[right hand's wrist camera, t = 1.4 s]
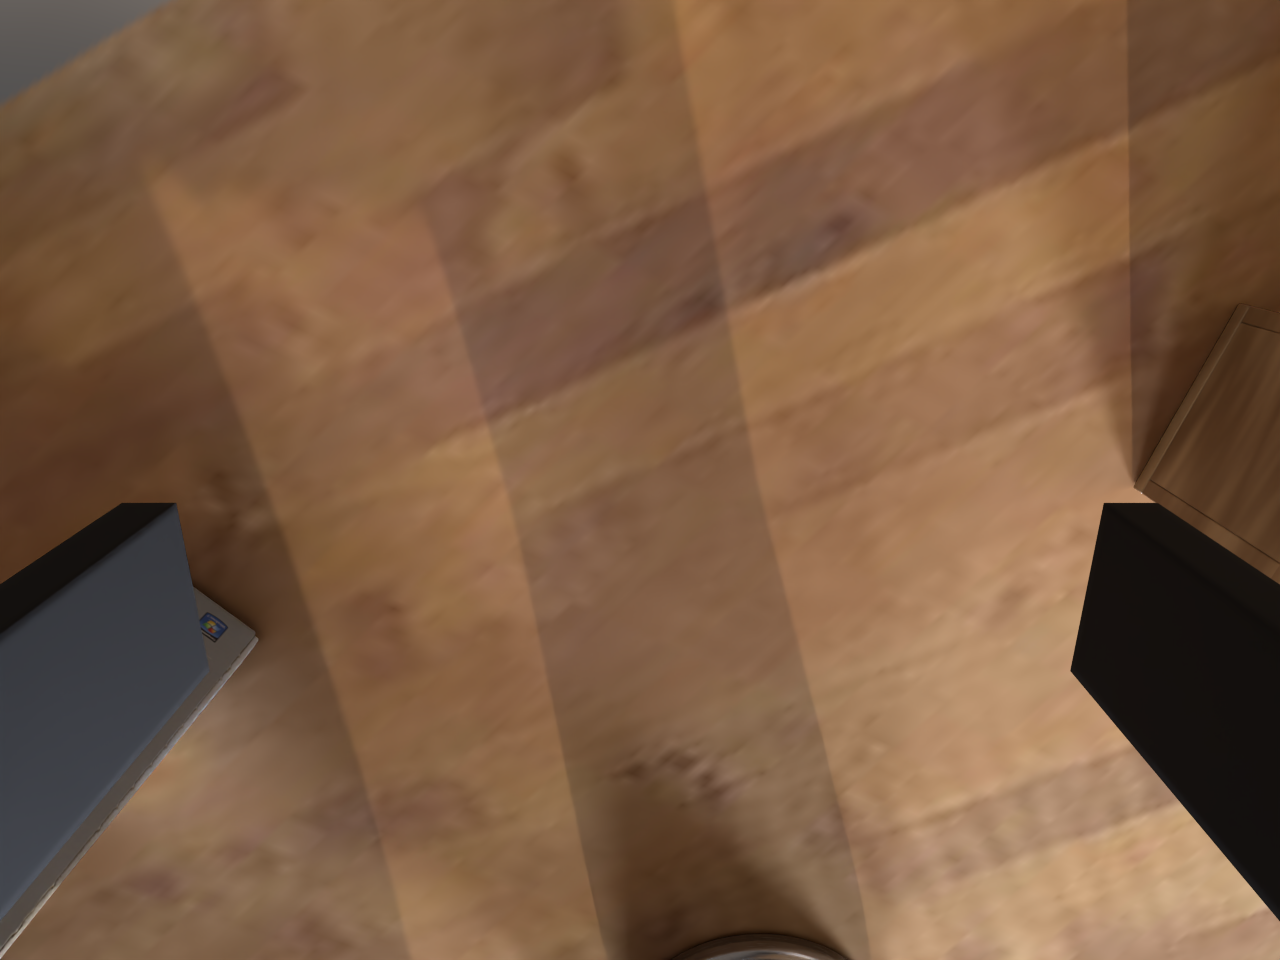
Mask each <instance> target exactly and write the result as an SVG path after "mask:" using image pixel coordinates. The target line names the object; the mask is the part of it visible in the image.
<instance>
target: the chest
mask: <svg viewBox="0 0 1280 960" xmlns="http://www.w3.org/2000/svg"><path fill="white" fill-rule="evenodd" d="M1134 488H1135V489H1136V490H1137V491H1139V492H1140V493H1142V494H1143V495H1145V496H1146V497H1148V498H1149V499H1151V500H1152V501H1153V502H1155V503H1159V504H1160V505H1162V506H1163V507H1165V508H1166V509H1168V510H1169V511H1171V512H1172V513H1174V514H1175V515H1177V516H1178V517H1180V518H1181V519H1183V520H1184V521H1186V522H1187V523H1189V524H1190V525H1192V526H1193V527H1195V528H1196V529H1198V530H1199V531H1201V532H1202V533H1204V534H1205V535H1207V536H1208V537H1210V538H1211V539H1213V540H1214V541H1216V542H1217V543H1219V544H1220V545H1222V546H1223V547H1225V548H1226V549H1228V550H1229V551H1231V552H1232V553H1234V554H1235V555H1237V556H1238V557H1239V558H1241V559H1242V560H1244V561H1245V562H1247V563H1248V564H1250V565H1251V566H1253V567H1254V568H1256V569H1257V570H1259V571H1260V572H1262V573H1263V574H1265V575H1266V576H1268V577H1269V578H1271V577H1272V576H1273V574H1274V573H1275V571H1276V570H1277V568H1278V567H1279V565H1280V313H1277V312H1273V311H1269V310H1265V309H1261V308H1257V307H1253V306H1249V305H1245V304H1239V305H1238V306H1237V308H1236V310H1235V312H1234V313H1233V315H1232V317H1231V319H1230V320H1229V322H1228V324H1227V325H1226V327H1225V329H1224V331H1223V332H1222V334H1221V336H1220V338H1219V339H1218V341H1217V343H1216V345H1215V346H1214V348H1213V350H1212V352H1211V353H1210V355H1209V357H1208V358H1207V360H1206V362H1205V364H1204V365H1203V367H1202V369H1201V371H1200V372H1199V374H1198V376H1197V378H1196V379H1195V381H1194V383H1193V385H1192V386H1191V388H1190V390H1189V391H1188V393H1187V395H1186V397H1185V398H1184V400H1183V402H1182V404H1181V405H1180V407H1179V409H1178V411H1177V412H1176V414H1175V416H1174V418H1173V419H1172V421H1171V423H1170V424H1169V426H1168V428H1167V430H1166V431H1165V433H1164V435H1163V437H1162V438H1161V440H1160V442H1159V444H1158V445H1157V447H1156V449H1155V451H1154V452H1153V454H1152V456H1151V457H1150V459H1149V461H1148V463H1147V464H1146V466H1145V468H1144V470H1143V471H1142V473H1141V475H1140V477H1139V478H1138V480H1137V482H1136V484H1135V485H1134Z"/></svg>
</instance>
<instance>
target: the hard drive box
mask: <svg viewBox="0 0 1280 960" xmlns="http://www.w3.org/2000/svg"><path fill="white" fill-rule="evenodd" d="M193 590H194V595H195V600H196V605H197V610H198V615H199V620H200V625H201V630H202V635H203V640H204V645H205V650H206V655H207V660H208V665H209V670H210V671H209V672H208V673H207V675H206V676H205V677H204V678H203V679H202V681H201V682H200V683H199V684H198V685H197V687H196V688H195V689H194V690H193V691H192V693H191V694H190V695H189V696H188V697H187V698H186V700H185V701H184V702H183V703H182V704H181V706H180V707H179V708H178V709H177V710H176V712H175V713H174V714H173V715H172V716H171V718H170V719H169V720H168V721H167V722H166V724H165V725H164V726H163V727H162V728H161V730H160V731H159V732H158V733H157V734H156V736H155V737H154V738H153V739H152V740H151V741H150V743H149V744H148V745H147V746H146V747H145V749H144V750H143V751H142V752H141V753H140V755H139V756H138V757H137V758H136V759H135V761H134V762H133V763H132V764H131V765H130V767H129V768H128V769H127V770H126V771H125V773H124V774H123V775H122V776H121V777H120V779H119V780H118V781H117V782H116V783H115V785H114V786H113V787H112V788H111V789H110V790H109V792H108V793H107V794H106V795H105V796H104V798H103V799H102V800H101V801H100V802H99V804H98V805H97V806H96V807H95V808H94V810H93V811H92V812H91V813H90V814H89V816H88V817H87V818H86V819H85V820H84V822H83V823H82V824H81V825H80V826H79V828H78V829H77V830H76V831H75V832H74V834H73V835H72V836H71V837H70V838H69V839H68V841H67V842H66V843H65V844H64V845H63V847H62V848H61V849H60V850H59V851H58V853H57V854H56V855H55V856H54V857H53V859H52V860H51V861H50V862H49V863H48V865H47V866H46V867H45V868H44V869H43V871H42V872H41V873H40V874H39V875H38V877H37V878H36V879H35V880H34V881H33V883H32V884H31V885H30V886H29V887H28V888H27V890H26V891H25V892H24V893H23V894H22V896H21V897H20V898H19V899H18V900H17V902H16V903H15V904H14V905H13V906H12V908H11V909H10V910H9V911H8V912H7V914H6V915H5V916H4V917H3V918H2V920H1V921H0V959H1V957H2V956H3V955H4V954H5V952H6V951H7V950H8V949H9V947H10V946H11V945H12V944H13V943H14V941H15V940H16V939H17V938H18V936H19V935H20V934H21V933H22V931H23V930H24V929H25V928H26V926H27V925H28V924H29V923H30V921H31V920H32V919H33V918H34V916H35V915H36V914H37V913H38V911H39V910H40V909H41V908H42V906H43V905H44V904H45V903H46V901H47V900H48V899H49V898H50V896H51V895H52V894H53V893H54V891H55V890H56V889H57V888H58V887H59V885H60V884H61V883H62V882H63V880H64V879H65V878H66V877H67V876H68V874H69V873H70V872H71V871H72V869H73V868H74V867H75V866H76V865H77V863H78V862H79V861H80V860H81V858H82V857H83V856H84V855H85V854H86V852H87V851H88V850H89V849H90V847H91V846H92V845H93V844H94V843H95V841H96V840H97V839H98V838H99V836H100V835H101V834H102V833H103V832H104V830H105V829H106V828H107V827H108V825H109V824H110V823H111V822H112V821H113V819H114V818H115V817H116V816H117V814H118V813H119V812H120V811H121V810H122V808H123V807H124V806H125V805H126V803H127V802H128V801H129V800H130V799H131V797H132V796H133V795H134V794H135V792H136V791H137V790H138V789H139V788H140V786H141V785H142V784H143V783H144V781H145V780H146V779H147V778H148V777H149V775H150V774H151V773H152V772H153V771H154V769H155V768H156V767H157V766H158V764H159V763H160V762H161V761H162V760H163V758H164V757H165V756H166V755H167V753H168V752H169V751H170V750H171V749H172V747H173V746H174V745H175V744H176V742H177V741H178V740H179V739H180V738H181V736H182V735H183V734H184V733H185V732H186V730H187V729H188V728H189V727H190V725H191V724H192V723H193V722H194V721H195V719H196V718H197V717H198V716H199V714H200V713H201V712H202V711H203V710H204V708H205V707H206V706H207V705H208V704H209V702H210V701H211V700H212V699H213V697H214V696H215V695H216V694H217V693H218V691H219V690H220V689H221V688H222V686H223V685H224V684H225V683H226V681H227V680H228V679H229V678H230V677H231V675H232V674H233V673H234V672H235V670H236V669H237V668H238V667H239V665H240V664H241V663H242V662H243V660H244V659H245V658H246V657H247V655H248V654H249V653H250V651H251V650H252V649H253V648H254V646H255V645H256V643H257V642H258V640H259V639H258V638H257V637H256V636H255V634H256V633H255V631H254V630H252V629H251V628H249V627H248V626H247V625H245V624H244V623H243V622H241V621H240V620H239V619H237V618H236V617H234V616H233V615H231V614H230V613H229V612H227V611H226V610H224V609H223V608H222V607H221V606H219V605H218V604H216V603H215V602H214V601H212V600H211V599H210V598H208V597H207V596H205V595H204V594H203V593H201V592H200V591H199V590H197V589H196V588H194V587H193Z"/></svg>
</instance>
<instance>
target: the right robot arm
mask: <svg viewBox="0 0 1280 960" xmlns="http://www.w3.org/2000/svg"><path fill="white" fill-rule="evenodd" d="M209 671H210V670H209V665H208V660H207V655H206V650H205V645H204V640H203V635H202V630H201V625H200V620H199V615H198V610H197V605H196V600H195V595H194V590H193V585H192V580H191V575H190V570H189V565H188V560H187V555H186V550H185V545H184V540H183V535H182V530H181V525H180V520H179V515H178V510H177V505H176V503H121V504H120V505H118V506H117V507H115V508H114V509H112V510H111V511H109V512H108V513H106V514H105V515H103V516H102V517H100V518H99V519H97V520H96V521H94V522H93V523H91V524H90V525H88V526H87V527H85V528H84V529H82V530H81V531H79V532H78V533H76V534H75V535H73V536H72V537H70V538H69V539H67V540H66V541H64V542H63V543H61V544H60V545H58V546H57V547H55V548H54V549H52V550H51V551H49V552H48V553H46V554H45V555H43V556H42V557H41V558H39V559H38V560H36V561H35V562H33V563H32V564H30V565H29V566H27V567H26V568H24V569H23V570H21V571H20V572H18V573H17V574H15V575H14V576H12V577H11V578H9V579H8V580H6V581H5V582H3V583H2V584H0V921H1V920H2V918H3V917H4V916H5V915H6V914H7V912H8V911H9V910H10V909H11V908H12V906H13V905H14V904H15V903H16V902H17V900H18V899H19V898H20V897H21V896H22V894H23V893H24V892H25V891H26V890H27V888H28V887H29V886H30V885H31V884H32V883H33V881H34V880H35V879H36V878H37V877H38V875H39V874H40V873H41V872H42V871H43V869H44V868H45V867H46V866H47V865H48V863H49V862H50V861H51V860H52V859H53V857H54V856H55V855H56V854H57V853H58V851H59V850H60V849H61V848H62V847H63V845H64V844H65V843H66V842H67V841H68V839H69V838H70V837H71V836H72V835H73V834H74V832H75V831H76V830H77V829H78V828H79V826H80V825H81V824H82V823H83V822H84V820H85V819H86V818H87V817H88V816H89V814H90V813H91V812H92V811H93V810H94V808H95V807H96V806H97V805H98V804H99V802H100V801H101V800H102V799H103V798H104V796H105V795H106V794H107V793H108V792H109V790H110V789H111V788H112V787H113V786H114V785H115V783H116V782H117V781H118V780H119V779H120V777H121V776H122V775H123V774H124V773H125V771H126V770H127V769H128V768H129V767H130V765H131V764H132V763H133V762H134V761H135V759H136V758H137V757H138V756H139V755H140V753H141V752H142V751H143V750H144V749H145V747H146V746H147V745H148V744H149V743H150V741H151V740H152V739H153V738H154V737H155V736H156V734H157V733H158V732H159V731H160V730H161V728H162V727H163V726H164V725H165V724H166V722H167V721H168V720H169V719H170V718H171V716H172V715H173V714H174V713H175V712H176V710H177V709H178V708H179V707H180V706H181V704H182V703H183V702H184V701H185V700H186V698H187V697H188V696H189V695H190V694H191V693H192V691H193V690H194V689H195V688H196V687H197V685H198V684H199V683H200V682H201V681H202V679H203V678H204V677H205V676H206V675H207V673H208V672H209ZM1070 671H1071V672H1072V673H1073V675H1074V676H1075V677H1076V678H1077V679H1078V681H1079V682H1080V683H1081V684H1082V685H1083V687H1084V688H1085V689H1086V690H1087V691H1088V693H1089V694H1090V695H1091V696H1092V697H1093V698H1094V700H1095V701H1096V702H1097V703H1098V704H1099V706H1100V707H1101V708H1102V709H1103V710H1104V712H1105V713H1106V714H1107V715H1108V716H1109V718H1110V719H1111V720H1112V721H1113V722H1114V724H1115V725H1116V726H1117V727H1118V728H1119V730H1120V731H1121V732H1122V733H1123V734H1124V736H1125V737H1126V738H1127V739H1128V740H1129V741H1130V743H1131V744H1132V745H1133V746H1134V747H1135V749H1136V750H1137V751H1138V752H1139V753H1140V755H1141V756H1142V757H1143V758H1144V759H1145V761H1146V762H1147V763H1148V764H1149V765H1150V767H1151V768H1152V769H1153V770H1154V771H1155V773H1156V774H1157V775H1158V776H1159V777H1160V779H1161V780H1162V781H1163V782H1164V783H1165V785H1166V786H1167V787H1168V788H1169V789H1170V790H1171V792H1172V793H1173V794H1174V795H1175V796H1176V798H1177V799H1178V800H1179V801H1180V802H1181V804H1182V805H1183V806H1184V807H1185V808H1186V810H1187V811H1188V812H1189V813H1190V814H1191V816H1192V817H1193V818H1194V819H1195V820H1196V822H1197V823H1198V824H1199V825H1200V826H1201V828H1202V829H1203V830H1204V831H1205V832H1206V834H1207V835H1208V836H1209V837H1210V838H1211V839H1212V841H1213V842H1214V843H1215V844H1216V845H1217V847H1218V848H1219V849H1220V850H1221V851H1222V853H1223V854H1224V855H1225V856H1226V857H1227V859H1228V860H1229V861H1230V862H1231V863H1232V865H1233V866H1234V867H1235V868H1236V869H1237V871H1238V872H1239V873H1240V874H1241V875H1242V877H1243V878H1244V879H1245V880H1246V881H1247V883H1248V884H1249V885H1250V886H1251V887H1252V888H1253V890H1254V891H1255V892H1256V893H1257V894H1258V896H1259V897H1260V898H1261V899H1262V900H1263V902H1264V903H1265V904H1266V905H1267V906H1268V908H1269V909H1270V910H1271V911H1272V912H1273V914H1274V915H1275V916H1276V917H1277V918H1278V920H1279V921H1280V584H1278V583H1277V582H1275V581H1274V580H1272V579H1271V578H1269V577H1268V576H1266V575H1265V574H1263V573H1262V572H1260V571H1259V570H1257V569H1256V568H1254V567H1253V566H1251V565H1250V564H1248V563H1247V562H1245V561H1244V560H1242V559H1241V558H1239V557H1238V556H1237V555H1235V554H1234V553H1232V552H1231V551H1229V550H1228V549H1226V548H1225V547H1223V546H1222V545H1220V544H1219V543H1217V542H1216V541H1214V540H1213V539H1211V538H1210V537H1208V536H1207V535H1205V534H1204V533H1202V532H1201V531H1199V530H1198V529H1196V528H1195V527H1193V526H1192V525H1190V524H1189V523H1187V522H1186V521H1184V520H1183V519H1181V518H1180V517H1178V516H1177V515H1175V514H1174V513H1172V512H1171V511H1169V510H1168V509H1166V508H1165V507H1163V506H1162V505H1160V504H1159V503H1104V505H1103V510H1102V515H1101V520H1100V525H1099V530H1098V535H1097V540H1096V545H1095V550H1094V555H1093V560H1092V565H1091V570H1090V575H1089V580H1088V585H1087V590H1086V595H1085V600H1084V605H1083V610H1082V615H1081V620H1080V625H1079V630H1078V635H1077V640H1076V645H1075V650H1074V655H1073V660H1072V665H1071V670H1070ZM672 960H847V959H846V958H844V957H843V956H841V955H840V954H838V953H836V952H834V951H832V950H831V949H829V948H826V947H824V946H822V945H819V944H817V943H814V942H811V941H808V940H804V939H800V938H796V937H790V936H784V935H774V934H747V935H738V936H731V937H726V938H721V939H717V940H714V941H710V942H707V943H704V944H701V945H699V946H696V947H694V948H692V949H689V950H687V951H685V952H683V953H681V954H680V955H678V956H676V957H675V958H673V959H672Z"/></svg>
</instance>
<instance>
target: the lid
mask: <svg viewBox="0 0 1280 960" xmlns="http://www.w3.org/2000/svg"><path fill="white" fill-rule="evenodd" d="M1271 579H1272V580H1274V581H1275V582H1277V583H1278V584H1280V565H1279V567H1278V568H1277V570H1276V571H1275V573H1274V574H1273V576H1272V577H1271Z"/></svg>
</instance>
